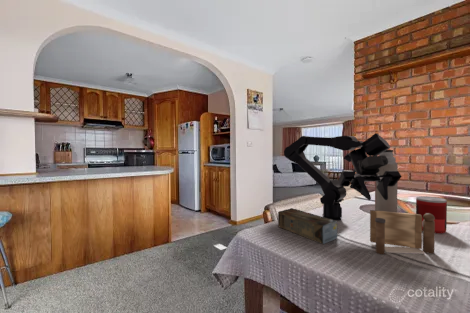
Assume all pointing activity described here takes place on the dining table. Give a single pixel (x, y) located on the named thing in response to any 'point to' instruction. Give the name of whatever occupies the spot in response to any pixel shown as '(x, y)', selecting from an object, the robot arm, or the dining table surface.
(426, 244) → the hinge post
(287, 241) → the dining table surface
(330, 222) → the beverage carton
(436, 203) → the canned food
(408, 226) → the gate
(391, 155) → the thermos bottle
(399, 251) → the threshold
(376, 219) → the post
